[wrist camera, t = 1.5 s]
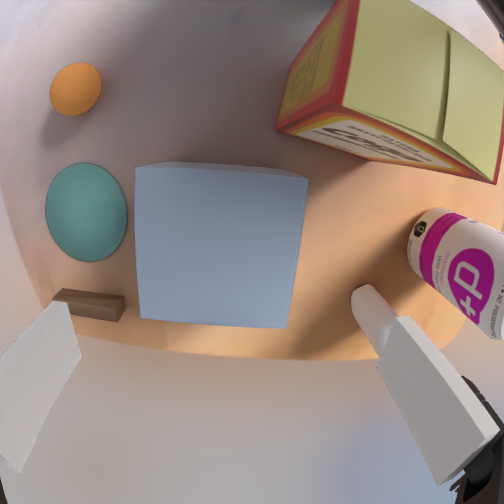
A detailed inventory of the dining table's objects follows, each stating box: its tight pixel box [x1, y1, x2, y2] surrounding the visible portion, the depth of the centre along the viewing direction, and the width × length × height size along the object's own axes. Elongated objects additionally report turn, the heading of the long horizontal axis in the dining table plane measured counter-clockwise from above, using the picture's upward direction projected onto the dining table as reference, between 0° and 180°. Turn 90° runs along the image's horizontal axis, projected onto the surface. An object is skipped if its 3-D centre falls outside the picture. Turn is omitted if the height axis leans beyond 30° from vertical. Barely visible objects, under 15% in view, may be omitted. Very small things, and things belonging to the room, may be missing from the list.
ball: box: [50, 63, 102, 116], centre depth 18 cm, size 5×5×5 cm
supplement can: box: [407, 207, 504, 340], centre depth 21 cm, size 8×8×15 cm
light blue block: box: [135, 161, 309, 329], centre depth 22 cm, size 10×10×9 cm
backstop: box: [52, 288, 125, 322], centre depth 27 cm, size 2×8×2 cm, turn 85°
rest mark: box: [45, 163, 127, 262], centre depth 25 cm, size 10×10×1 cm
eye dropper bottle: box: [351, 284, 399, 358], centre depth 24 cm, size 4×6×12 cm
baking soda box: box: [275, 0, 504, 185], centre depth 15 cm, size 10×6×16 cm
